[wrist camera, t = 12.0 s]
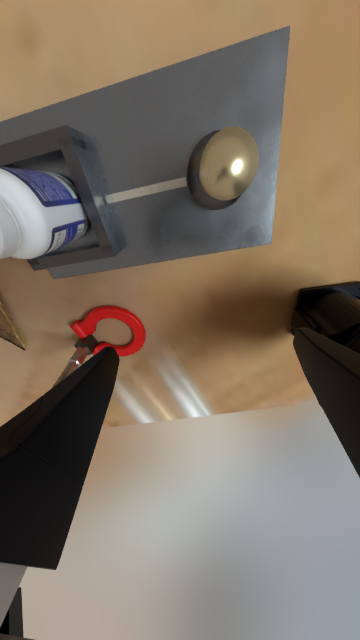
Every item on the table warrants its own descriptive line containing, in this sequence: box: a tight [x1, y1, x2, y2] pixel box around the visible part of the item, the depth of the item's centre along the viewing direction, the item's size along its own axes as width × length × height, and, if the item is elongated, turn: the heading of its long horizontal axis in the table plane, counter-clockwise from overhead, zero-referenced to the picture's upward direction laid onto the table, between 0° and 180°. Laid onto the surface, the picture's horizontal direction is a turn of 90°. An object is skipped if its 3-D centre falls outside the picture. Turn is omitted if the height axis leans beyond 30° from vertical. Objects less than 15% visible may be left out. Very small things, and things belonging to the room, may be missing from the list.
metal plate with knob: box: [0, 26, 290, 279], centre depth 14 cm, size 23×12×7 cm, turn 100°
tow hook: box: [51, 306, 145, 389], centre depth 21 cm, size 8×13×9 cm
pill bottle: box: [0, 167, 89, 259], centre depth 13 cm, size 5×5×9 cm
